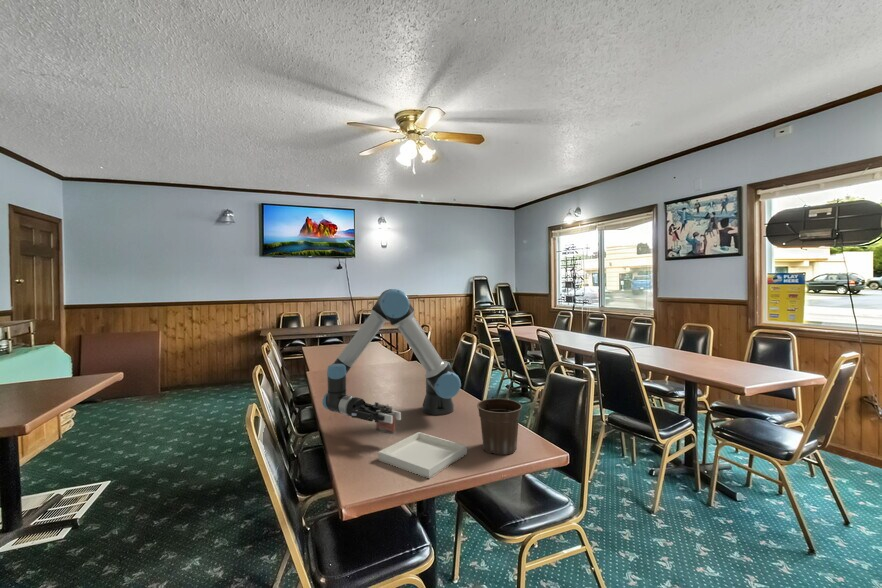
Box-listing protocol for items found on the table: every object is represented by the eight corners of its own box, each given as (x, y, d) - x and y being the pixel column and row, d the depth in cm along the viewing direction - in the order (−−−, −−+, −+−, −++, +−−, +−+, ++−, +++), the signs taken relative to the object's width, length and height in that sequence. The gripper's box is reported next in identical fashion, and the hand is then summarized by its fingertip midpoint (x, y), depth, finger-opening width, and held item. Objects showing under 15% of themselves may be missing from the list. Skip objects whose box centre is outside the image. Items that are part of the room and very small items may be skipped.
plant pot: (491, 461, 131) (491, 414, 131) (469, 443, 146) (469, 401, 145) (530, 453, 137) (531, 408, 137) (505, 437, 152) (505, 396, 152)
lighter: (397, 431, 144) (397, 405, 144) (392, 434, 141) (392, 407, 141) (379, 428, 148) (378, 402, 148) (374, 431, 145) (373, 405, 145)
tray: (418, 439, 150) (418, 431, 150) (467, 454, 137) (467, 445, 137) (378, 460, 132) (378, 451, 132) (429, 479, 119) (429, 469, 119)
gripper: (368, 410, 162) (411, 421, 148) (336, 422, 148) (379, 435, 135) (368, 392, 162) (410, 402, 148) (335, 402, 148) (379, 414, 134)
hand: (396, 417), depth 141 cm, fingers closed on lighter, 4 cm apart
